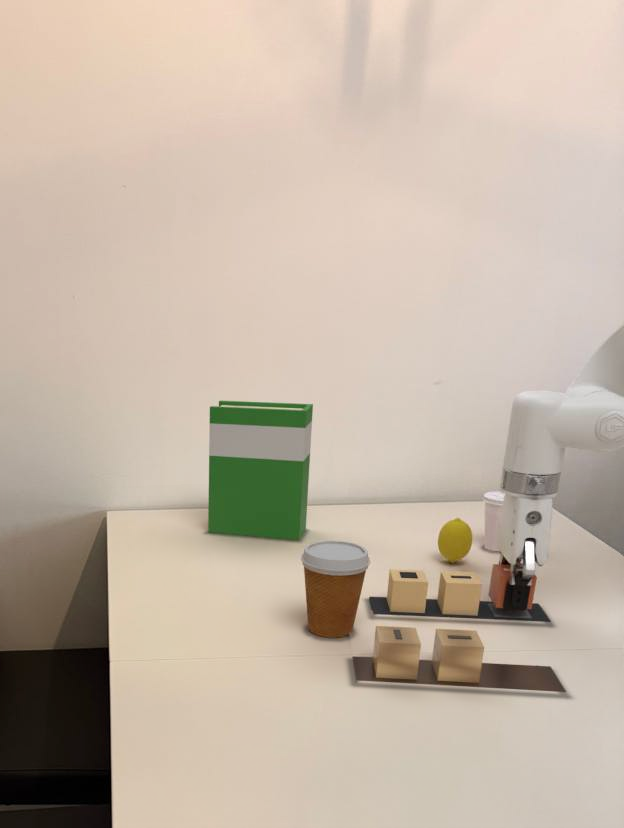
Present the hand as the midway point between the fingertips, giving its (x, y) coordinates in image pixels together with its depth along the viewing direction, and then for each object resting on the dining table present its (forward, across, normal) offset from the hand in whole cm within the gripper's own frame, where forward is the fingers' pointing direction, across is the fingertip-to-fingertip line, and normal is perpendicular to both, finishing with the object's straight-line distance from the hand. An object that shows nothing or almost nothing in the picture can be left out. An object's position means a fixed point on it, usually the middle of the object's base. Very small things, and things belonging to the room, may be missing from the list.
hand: (510, 600), depth 128 cm
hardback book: (+2, +37, +38) cm, 53 cm away
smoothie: (+2, +31, -5) cm, 31 cm away
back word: (+2, 0, +7) cm, 8 cm away
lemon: (+2, +22, +4) cm, 23 cm away
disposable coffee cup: (+2, -9, +26) cm, 28 cm away
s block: (0, 0, 0) cm, 0 cm away
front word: (+2, -22, +11) cm, 25 cm away
